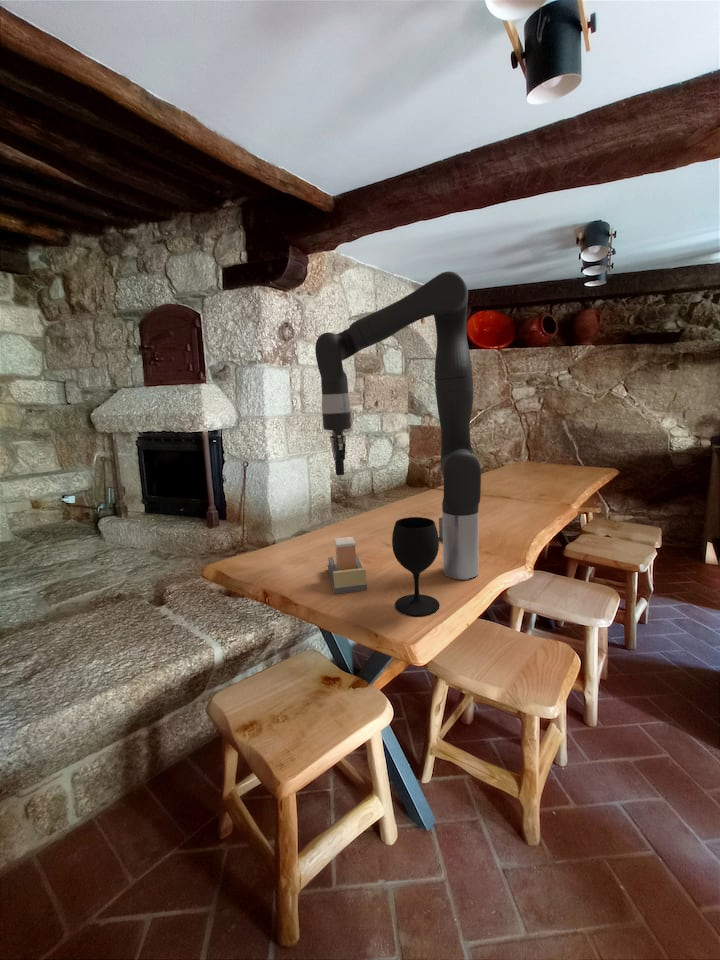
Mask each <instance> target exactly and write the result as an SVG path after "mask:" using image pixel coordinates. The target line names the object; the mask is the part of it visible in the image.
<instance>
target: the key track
mask: <svg viewBox="0 0 720 960" xmlns="http://www.w3.org/2000/svg"><path fill="white" fill-rule="evenodd" d="M356 568H357V569H349V570H340V571H337V563H335V560H334V558H333V556H331V557H328V564H327V569H328V574H329V578H330V582H331V586H332V590H333V595H336V594H345V593H352V592H362V591H368V583H367V573H366V567H363V566H362V564H361V561H360V559H359V557H358V555H357V554H356Z"/></svg>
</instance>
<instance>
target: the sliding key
mask: <svg viewBox="0 0 720 960" xmlns="http://www.w3.org/2000/svg"><path fill="white" fill-rule="evenodd" d="M334 544H335V558H336V564H337V571H340V570H349V569H357V568H356V555H357V554H356V553H357V551H356V541H355V538H354V537H353V536H347V537H339V538H338V537H336V538H334Z"/></svg>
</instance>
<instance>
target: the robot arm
mask: <svg viewBox="0 0 720 960" xmlns="http://www.w3.org/2000/svg"><path fill="white" fill-rule="evenodd" d="M468 302H469V291H468V285H467V282H466V280H465V278H464V277H463V276H462V275H460V274H459V273H458V272H456V271H455V272H454V271H450V270H449V271H444V272H441V273H439V274H437V275H436V276H435V277H433V278H431V280H429V281H427V282H425V284H423V285H422V286H420V287H419V288H417V289H415V290H414V291H412V292H411V293H409V294H408V295H406V296H404V297H402V298H401V299H399V300H397V301H395V302H393V303H391V304H389V305H387V306H384V307H383V308H380V309H378V310H377V311H374V312H372V313H369V314H368V315H365V316H364V317H361V318H360V319H358V320H356V321H354V322H352V323H351V324H350V325H349V328H346V329H345V330H342V331H341V332H339V333H333V332H330V331H329V332H328V331H327V332H324V333H323V332H322V333H321V334H320V335H319V336H318V338H317V340H316V342H315V345H314V346H315V347H314V348H315V350H314V351H315V359H316V364H317V367H318V371H319V375H320V381H321V382H320V383H321V384H320V385H321V415H322V429H323V430H326V431H331V435H330V436H329V441H330V443H331V444H330V445H331V452H332V457H333V461H334V464H335V465H334V466H335V468H334V469H335V474H336V476H344V474H345V460H346V446H347V444H346V443H347V437H346V435H344V430H349V429H350V428H351V427H352V422H351V421H352V419H351V402H350V401H351V400H350V397H349V396H350V395H349V383H348V376H347V373H346V372H345V371H344V366H343V361H345V360H347V359H349V358H350V357H352V356H354V355H355V354H357V353H359V352H360V351H361V350H363V349H367V348H369V347H371V346H373V345H376V344H378V343H380V342H382V341H384V340H387V339H388V338H390V337H391V336H394V335H395V334H396V333H398V332H400V331H401V330H403V329H405V328H406V327H408V326H410V325H412V324H413V323H415V322H417V321H420V320H422V319H425V318H429V317H431V316H433V318H434V323H435V331H436V350H435V360H434V380H435V381H434V384H435V385H434V387H435V396H436V397H435V398H436V405H437V413H438V419H439V424H440V430H441V438H440V441H441V443H440V444H441V447H440V448H441V449H440V472H441V475H442V477H443V497H442V498H443V499H442V503H441V507H442V509H441V511H442V513H441V515H442V516H441V517H443V540H442V556H443V557H442V562H443V563H442V564H443V565H442V566H443V567H442V569H443V570H442V571H443V574H444V576H446V577H447V578H451V579H454V580H470V579H469V578H472V579H474V578H473V577H475V576H476V577H478V576H479V560H480V559H479V553H480V552H479V543H480V542H479V539H480V538H479V537H480V535H479V529H480V528H479V525H480V524H479V514H480V513H479V508H480V507H479V505H480V501H481V492H482V491H481V489H482V470H481V464H480V462H479V459H478V458H477V457H476V456H475V455H474V454H473V448H472V442H471V441H472V440H471V433H470V430H471V429H470V427H471V417H472V413H473V404H474V377H473V367H472V360H471V355H470V349H469V348H470V347H469V343H468V342H469V341H468V337H467V320H468V319H467V316H468V315H467V314H468ZM476 577H475V578H476Z"/></svg>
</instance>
